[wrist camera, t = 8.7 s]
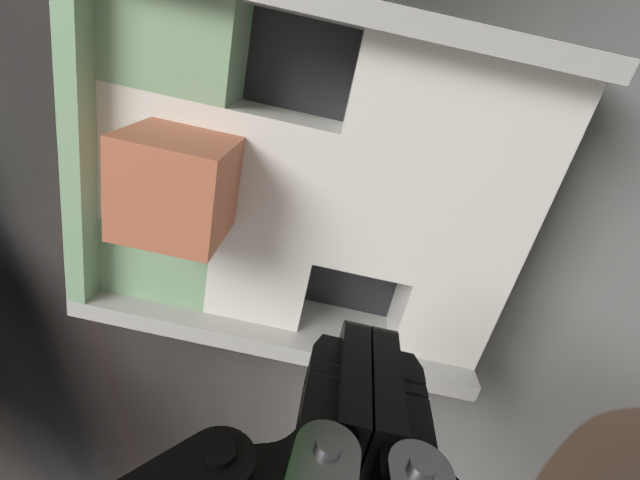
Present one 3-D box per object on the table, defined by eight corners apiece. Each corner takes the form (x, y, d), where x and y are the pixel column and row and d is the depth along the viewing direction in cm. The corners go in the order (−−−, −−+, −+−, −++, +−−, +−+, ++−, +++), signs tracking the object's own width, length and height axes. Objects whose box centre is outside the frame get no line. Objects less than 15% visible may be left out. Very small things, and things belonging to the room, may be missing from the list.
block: (245, 136, 20) (217, 161, 16) (234, 223, 22) (207, 263, 18) (151, 116, 20) (100, 135, 16) (148, 204, 22) (101, 241, 18)
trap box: (574, 55, 21) (641, 59, 16) (454, 340, 29) (474, 402, 24) (118, -49, 21) (44, -77, 16) (117, 267, 29) (67, 315, 24)
